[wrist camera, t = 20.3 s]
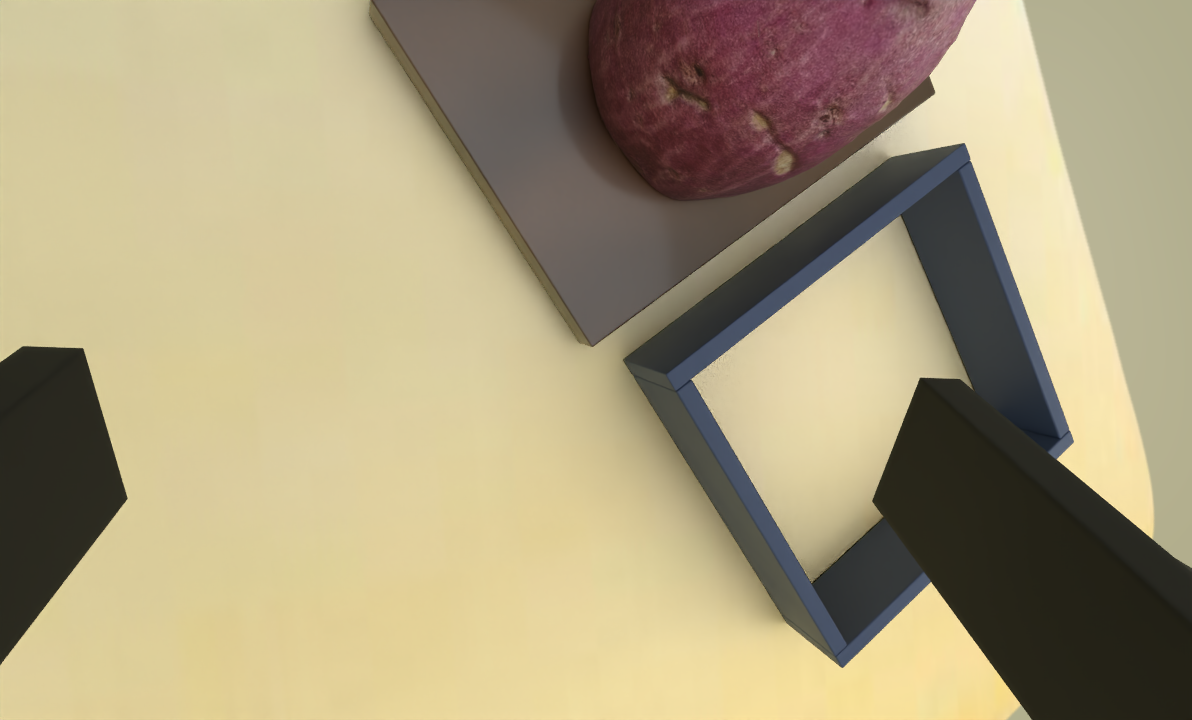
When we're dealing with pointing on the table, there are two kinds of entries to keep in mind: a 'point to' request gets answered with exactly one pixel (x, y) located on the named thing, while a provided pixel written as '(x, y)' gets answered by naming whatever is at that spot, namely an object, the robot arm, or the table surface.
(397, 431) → the table surface
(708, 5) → the vegetable
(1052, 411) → the square frame
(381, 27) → the cutting board
